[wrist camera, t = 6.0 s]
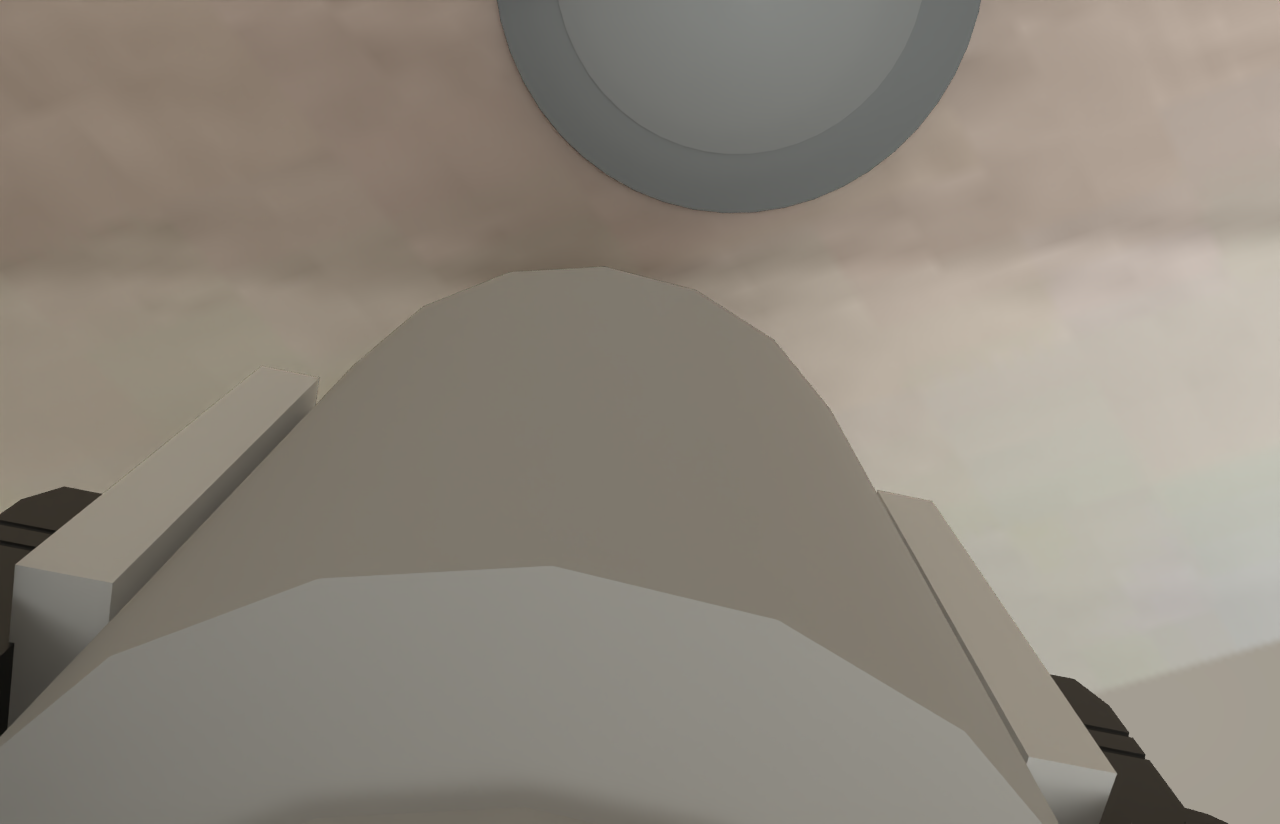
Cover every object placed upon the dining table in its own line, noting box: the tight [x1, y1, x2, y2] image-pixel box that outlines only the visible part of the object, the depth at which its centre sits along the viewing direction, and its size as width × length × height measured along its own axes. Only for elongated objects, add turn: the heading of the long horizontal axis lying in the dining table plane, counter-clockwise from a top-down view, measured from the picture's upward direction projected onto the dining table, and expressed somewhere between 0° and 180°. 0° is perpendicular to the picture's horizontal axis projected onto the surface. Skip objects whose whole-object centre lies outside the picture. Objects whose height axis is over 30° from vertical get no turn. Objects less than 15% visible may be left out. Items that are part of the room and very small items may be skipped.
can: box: [0, 267, 1059, 824], centre depth 11 cm, size 8×8×12 cm
